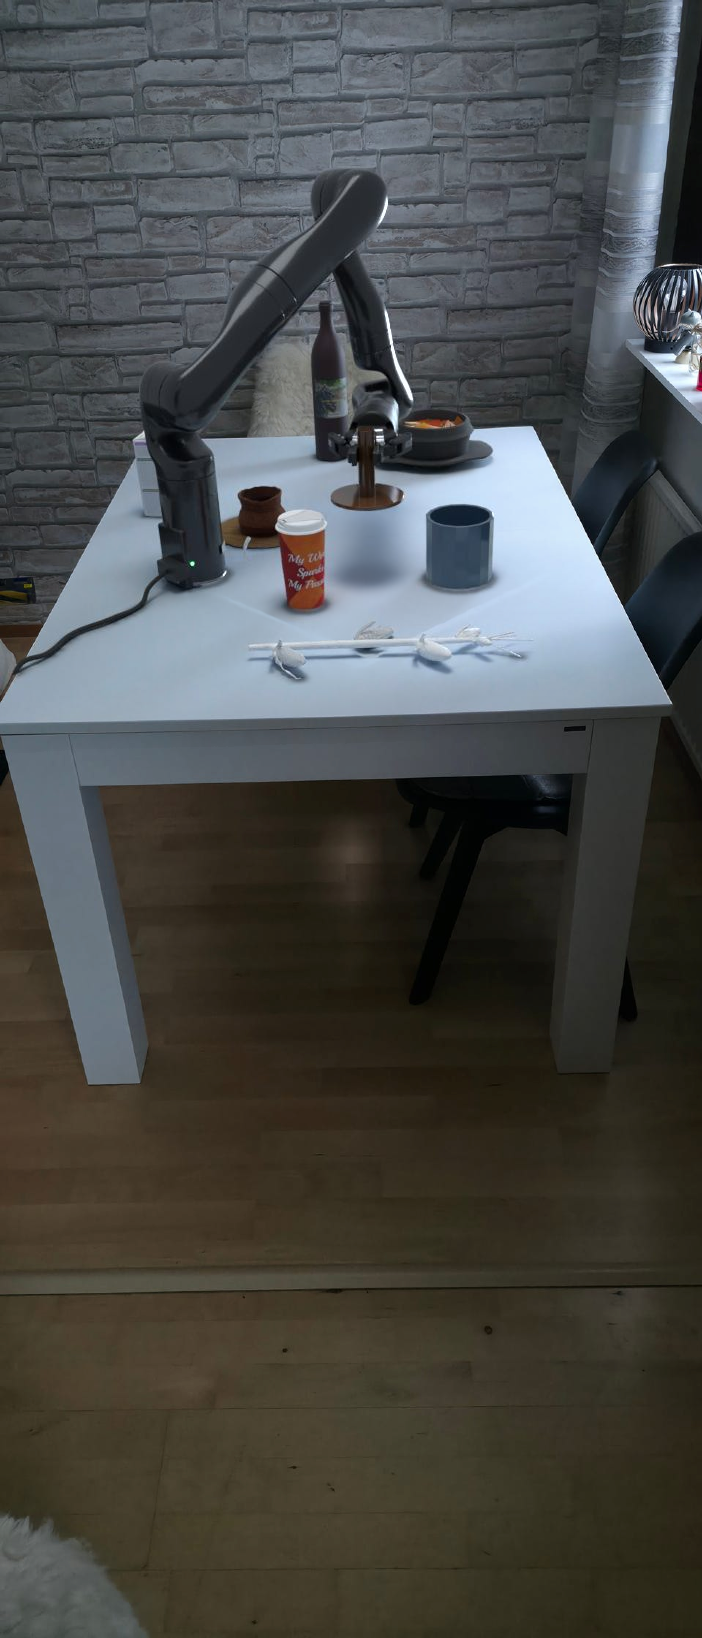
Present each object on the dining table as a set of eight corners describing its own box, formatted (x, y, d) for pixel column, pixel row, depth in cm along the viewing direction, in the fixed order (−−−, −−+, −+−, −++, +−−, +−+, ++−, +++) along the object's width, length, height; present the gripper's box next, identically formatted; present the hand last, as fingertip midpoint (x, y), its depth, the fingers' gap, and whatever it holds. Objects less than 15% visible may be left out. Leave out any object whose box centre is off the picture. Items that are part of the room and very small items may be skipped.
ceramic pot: (253, 557, 191) (249, 516, 187) (194, 531, 202) (189, 492, 198) (333, 529, 200) (332, 490, 196) (272, 506, 211) (270, 469, 207)
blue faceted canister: (461, 597, 173) (463, 532, 168) (412, 580, 180) (412, 516, 174) (504, 577, 179) (507, 513, 173) (455, 561, 186) (456, 499, 180)
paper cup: (294, 619, 169) (287, 530, 161) (273, 602, 175) (266, 514, 167) (340, 608, 172) (336, 519, 164) (318, 591, 178) (313, 504, 170)
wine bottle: (313, 461, 233) (304, 305, 216) (319, 451, 239) (311, 298, 222) (346, 461, 232) (340, 305, 215) (352, 451, 238) (346, 298, 221)
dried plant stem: (245, 681, 153) (539, 671, 152) (233, 543, 145) (543, 531, 144) (253, 655, 164) (528, 646, 162) (243, 525, 156) (532, 514, 154)
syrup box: (173, 517, 208) (163, 438, 200) (143, 516, 209) (131, 438, 201) (183, 507, 213) (173, 429, 204) (153, 506, 214) (143, 428, 205)
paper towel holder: (367, 520, 167) (365, 444, 161) (315, 503, 174) (312, 430, 168) (419, 501, 174) (419, 427, 167) (367, 485, 181) (365, 414, 174)
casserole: (488, 445, 238) (489, 404, 233) (497, 472, 223) (498, 429, 218) (370, 449, 239) (369, 408, 234) (371, 477, 223) (370, 434, 219)
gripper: (330, 403, 180) (317, 434, 166) (417, 403, 179) (411, 434, 164) (332, 450, 184) (319, 484, 170) (417, 450, 183) (411, 484, 169)
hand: (364, 459), depth 167 cm, fingers closed on paper towel holder, 2 cm apart
